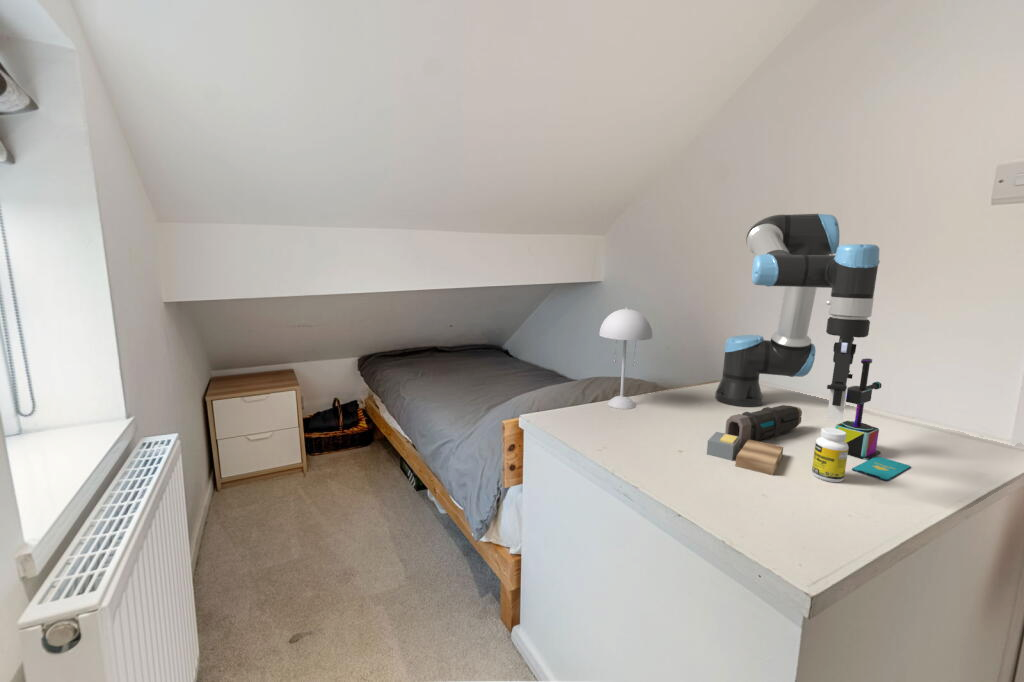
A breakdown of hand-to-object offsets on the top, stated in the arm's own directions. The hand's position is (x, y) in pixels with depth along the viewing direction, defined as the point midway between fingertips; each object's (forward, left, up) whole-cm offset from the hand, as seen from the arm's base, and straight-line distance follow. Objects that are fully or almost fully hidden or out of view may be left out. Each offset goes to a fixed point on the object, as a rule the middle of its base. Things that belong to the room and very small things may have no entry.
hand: (836, 412), depth 106 cm
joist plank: (0, -14, -15) cm, 21 cm away
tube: (-20, -16, -16) cm, 30 cm away
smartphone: (-14, +10, -16) cm, 23 cm away
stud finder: (0, -22, -16) cm, 27 cm away
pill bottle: (0, 0, -16) cm, 16 cm away
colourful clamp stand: (-28, +6, -16) cm, 33 cm away
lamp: (-22, -60, -16) cm, 66 cm away
